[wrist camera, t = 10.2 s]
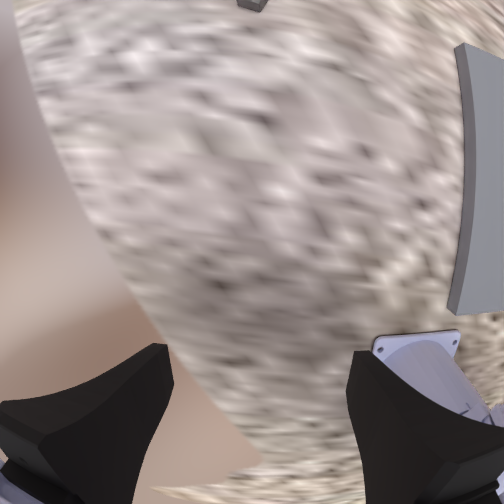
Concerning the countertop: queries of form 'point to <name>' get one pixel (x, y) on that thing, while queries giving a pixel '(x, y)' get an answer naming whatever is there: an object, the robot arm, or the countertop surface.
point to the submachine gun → (252, 4)
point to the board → (481, 186)
